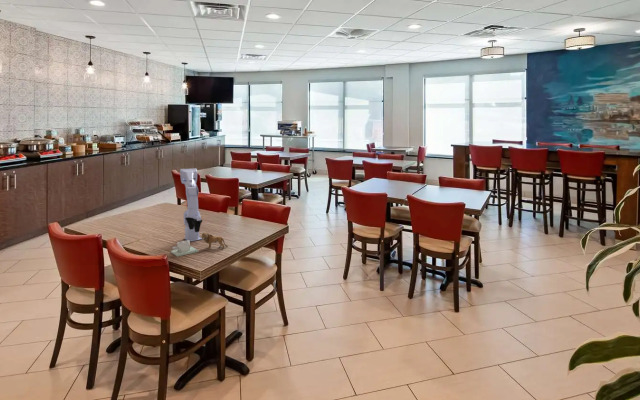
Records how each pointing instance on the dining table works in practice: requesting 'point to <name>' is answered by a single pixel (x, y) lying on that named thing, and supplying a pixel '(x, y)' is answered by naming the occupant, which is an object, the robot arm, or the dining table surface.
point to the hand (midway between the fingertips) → (194, 230)
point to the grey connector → (182, 246)
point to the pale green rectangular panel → (192, 250)
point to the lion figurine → (212, 240)
